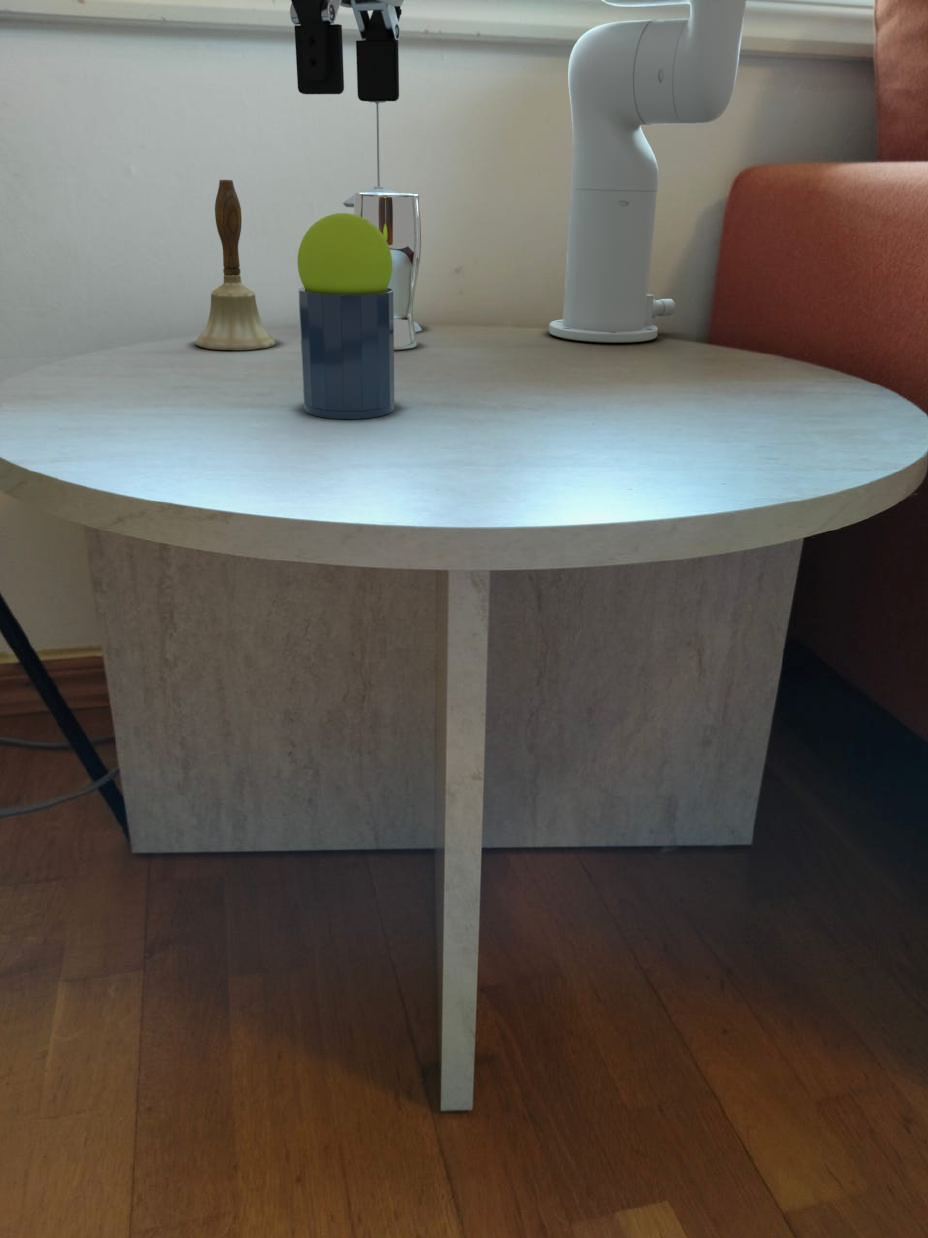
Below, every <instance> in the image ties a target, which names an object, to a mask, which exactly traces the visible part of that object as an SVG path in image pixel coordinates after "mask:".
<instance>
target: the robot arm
mask: <svg viewBox="0 0 928 1238" xmlns="http://www.w3.org/2000/svg"><path fill="white" fill-rule="evenodd" d="M290 1H291V3H290V7H289V9H290V10H289V16H290V20H291V22H292V24H293V26H294V42H295V61H296V79H297V90H298V92H299V93H300V94H301V95H341V94H342V93H343V92H344V90H345V77H344V75H345V73H344V72H345V71H344V46H343V45H344V44H343V25H342V24H338V23H336V20H337V16H338V13H339V9H340V7H343V8H348V9H350V8H351V9H352V12H353V15H354V19H355V21H356V25H357V28H358V31H359V34H360V38H361V39H359V40H357V39H356V40H355V53H356V54H355V56H356V58H355V59H356V87H357V98H358V100H359V101H361V102H369V101H386V102H396V101H398V100H399V98H400V67H399V64H400V63H399V61H400V60H399V59H400V58H399V57H400V56H399V40H400V37H401V27H400V24H399V22H400V18H401V16H402V13H403V12H402V9H401V6H403V5H404V4H405V2H406V1H407V0H290ZM601 1H602V2H603V3H605V4H607V5H611V6H614V7H626V8H627V7H634V8H635V7H639V8H640V7H656V6H669V5H670V6H671V5H685V4H687V5H689V14H690V15H689V18H672V19H642V20H641V19H640V20H639V19H638V20H624V21H623V20H622V21H615V22H607V23H604V24H600V25H596V26H594V27H592V28H591V29H589V30H587V31H586V32H585V33H583V34H582V35H581V36H580V37H579V38H578V40H577V41H576V43H575V44H574V46H573V48H572V50H571V53H570V56H569V61H568V67H567V68H568V71H567V73H568V74H567V80H568V81H567V82H568V94H569V103H570V114H571V128H572V156H571V157H572V161H571V164H572V165H571V177H570V178H571V180H570V181H571V182H570V193H569V195H570V196H569V209H568V213H569V214H568V227H567V229H568V231H567V245H566V246H567V247H566V260H565V277H564V291H563V293H564V294H563V309H562V310H563V311H562V319H556V320H552V321H551V322H549V325H548V332H549V334H550V335H552V336H554V337H557V338H561V339H565V340H571V341H580V342H590V343H609V344H611V343H613V344H616V343H618V344H619V343H620V344H621V343H639V342H640V343H641V342H647V341H653V340H654V339H656V338H657V337H658V334H659V333H658V331H659V328H658V326H657V325H655V324H652V320H653V319H655V318H656V317H665V316H667V317H668V316H672V315H673V314H674V313H675V311H676V302H675V301H674V299H672V298H659V299H657V300H656V299H655V297H654V296H655V295H654V294H650V293H649V294H648V292H649V283H650V272H651V262H652V261H651V259H652V250H653V239H654V229H655V219H656V218H655V217H656V210H657V209H656V208H657V196H658V191H659V190H658V189H659V177H660V175H659V166H658V161H657V159H656V156H655V154H654V151H653V149H652V147H651V145H650V144H649V141H648V140H647V138H646V136H645V134H644V132H643V129H642V126H651V125H701V124H707V123H711V122H714V121H716V120H718V119H719V118H720V117H721V116H722V115H723V114H724V113H725V112H726V110H727V109H728V107H729V106H730V102H731V100H732V97H733V94H734V90H735V87H736V86H735V85H736V81H737V75H738V69H739V67H738V66H739V62H740V54H741V44H742V37H743V29H744V28H743V27H744V20H745V13H746V4H747V0H601ZM369 11H370V12H371V11H372V12H371V16H370V15H369ZM335 23H336V24H335Z"/></svg>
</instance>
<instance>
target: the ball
mask: <svg viewBox="0 0 928 1238" xmlns="http://www.w3.org/2000/svg"><path fill="white" fill-rule="evenodd" d="M297 272H298V276H299V278H300V282H301V284H302V286H303V287H304V288H305V289H306V291H310V292H316V293H326V294H371V293H380V292H385V291H386V289H387V287H388V285H389V282H390V279H391V274H392V256H391V251H390V248H389V245H388V243H387V241H386V239H385V237H384V236H383V234H382V233H381V232H380V230H379V229H378V228H377V227H376V226H375V225H374V224H372V223H371V222H370V221H368V220H366V219H364V218H363V217H360V216H358V215H354V213H349V212H348V213H347V212H337V213H333V214H329V215H325V216H324V217H322V218H320V219H318V220H317V221H316V222H314V223H313V224H312V225H311V226H310V227H309V228H308V230H307V231H306V232H305V234H304V235H303V237H302V239H301V241H300V245H299V248H298V253H297Z"/></svg>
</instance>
